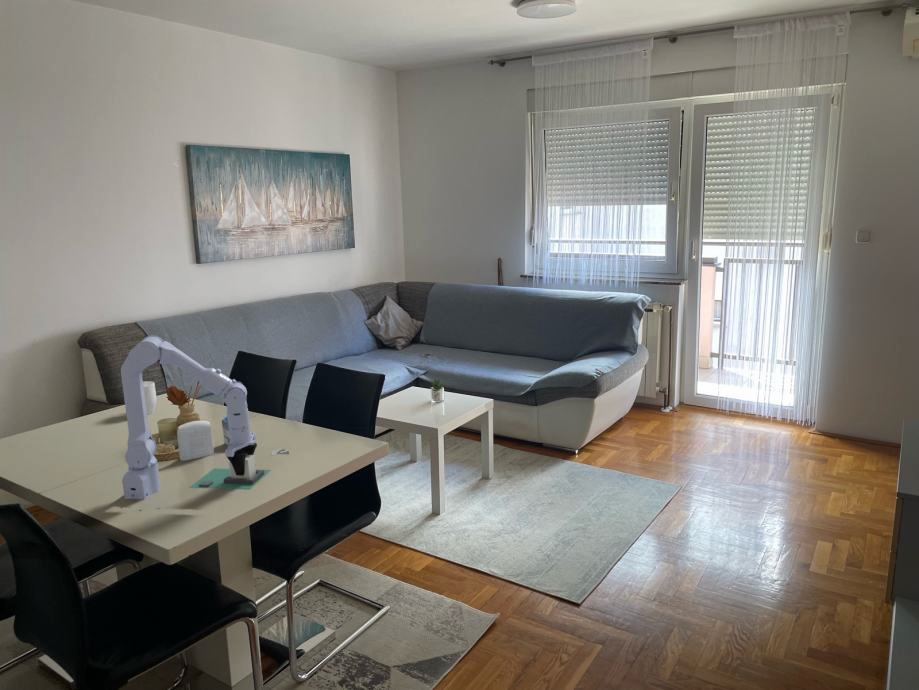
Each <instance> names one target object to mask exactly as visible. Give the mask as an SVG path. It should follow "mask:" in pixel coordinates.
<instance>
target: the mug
mask: <svg viewBox="0 0 919 690" xmlns="http://www.w3.org/2000/svg"><path fill="white" fill-rule="evenodd" d="M155 384H156V383H155V382H154V381H148V380H147V381H145V380H144V381H143V388H144V396H145V404H146V412H147V416H148V415H152V414H154V412H155V409H156V404H157V392H156V386H155Z"/></svg>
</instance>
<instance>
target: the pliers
mask: <svg viewBox="0 0 919 690" xmlns="http://www.w3.org/2000/svg"><path fill="white" fill-rule="evenodd" d="M269 455H270V456H275V455H290V450H289V449H288V450H285V448H284V447H282V448H279V449H277V450H273V451H271V452H270V454H269Z"/></svg>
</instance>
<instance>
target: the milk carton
mask: <svg viewBox="0 0 919 690" xmlns="http://www.w3.org/2000/svg"><path fill="white" fill-rule="evenodd" d="M221 426H222V433H223V443H224V444H225V445H226V446H228V445H229V442H230V437H229V428H228V419H227V416H226V417H223V419H222V420H221Z"/></svg>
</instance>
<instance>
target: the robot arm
mask: <svg viewBox="0 0 919 690" xmlns="http://www.w3.org/2000/svg"><path fill="white" fill-rule="evenodd" d="M157 361H159V363H158V364H160V365H167V364H168V365H169V364H172V365H174V366H177V367H178V368H180V369H181V370H183V371H185V372H187V373H188V374H190V375H192V376H193V377H196V378H197V379H198V381H199V385H200V386H201V387H202V388H204V389H206V390H207V391H209V392H210V393H212V394H214V395H215V396H217V397H218V398H221V399H223V401H224V404H225V405H226V410H227V411H226V417H227V419H228V428H229V437H230V442H229V445H227V448H226V449H225V452H224V453H225V457H226V459H227V460H228V461H229V462H231V464H232V466H233V468H234V471H235V473H236V475H238V476H243V475H244V472H245V458H246V455H254V456H255V452H256V449H257V448H258V447H257V446H258V444H257V442H256V437H257V436H256V432H251V428H250V427H251V426H250V416H249V415H250V414H249V409H248V403H247V402H248V401H247V399H248V398H247V395H248V391H247V387H246V386H245V385H244V384H243V383H242V382H241V381H237V380H236V379H235V378H233V379H232V378H229V377H228V376H227V375H225V374H224V373H222V370H221V369H220V368H214V367H207V368H206V367H204V366H203V365H201V364H200V363H199V362H197V361H196V360H194V359H193V358H191V357H190V356H188V355H187V354H186V353H184V352H183V351H181V350H180V349H178V348H177V347H176V346H174V345H173V344H172V343H171V342H169V341H166V340H163V339H162V338H161V337H159V336H158V335H148V336H146V337H144V338H142V340H141V341H140V342H138V343H137V344H136V345H135V346H134V347H133V348H131V349H130V350H129V352H128V355H127V357H126V359H125V360H124V362H123V364H122V365H121V368H120V376H121V384H122V391H123V398H124V406H125V413H126V422H127V428H128V437H127V444H126V445H127V450H126V452H125V456H124V458H125V461H126V463H127V468H128V469H127V472H126V473H125V474H124V475H123V477H122V481H121V483H122V489H123V495H124V496H123V497H124V500H146V499H147V498H149V497H151V496H152V495H154V494H156V493H158V492H159V491H160V490H161V488H162V487H161V480H160V472H159V466H158V465H159V464H158V459H157V458H156V457H155V455H154V454H155V453H156V452H157V451H156V450H157V443H156V441H155V439H154V438H153V437H152V435H153V434H152V431H151V429H150V427H149V421H148V415H147V412H146V404H145V396H144V388H143V382H144V381H143V372H144V370H146V368H148V367H151V365H153V364H155V363H156V362H157Z"/></svg>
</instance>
